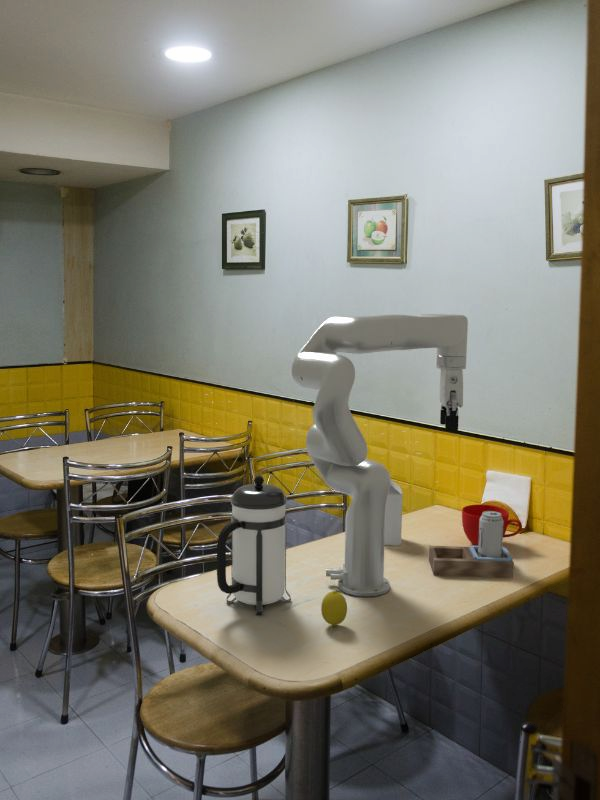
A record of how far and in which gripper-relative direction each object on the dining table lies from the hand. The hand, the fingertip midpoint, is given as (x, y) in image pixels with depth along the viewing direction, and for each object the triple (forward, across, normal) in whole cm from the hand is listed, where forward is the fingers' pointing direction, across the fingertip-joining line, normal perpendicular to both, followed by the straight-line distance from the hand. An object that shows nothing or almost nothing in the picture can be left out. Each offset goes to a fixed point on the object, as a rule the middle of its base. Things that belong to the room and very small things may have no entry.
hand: (448, 427), depth 193 cm
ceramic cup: (+36, +13, -15) cm, 42 cm away
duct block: (+36, -6, -6) cm, 37 cm away
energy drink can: (+36, -6, -11) cm, 39 cm away
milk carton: (+36, +14, +14) cm, 42 cm away
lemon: (+36, -42, +29) cm, 63 cm away
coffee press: (+36, -32, +47) cm, 68 cm away
